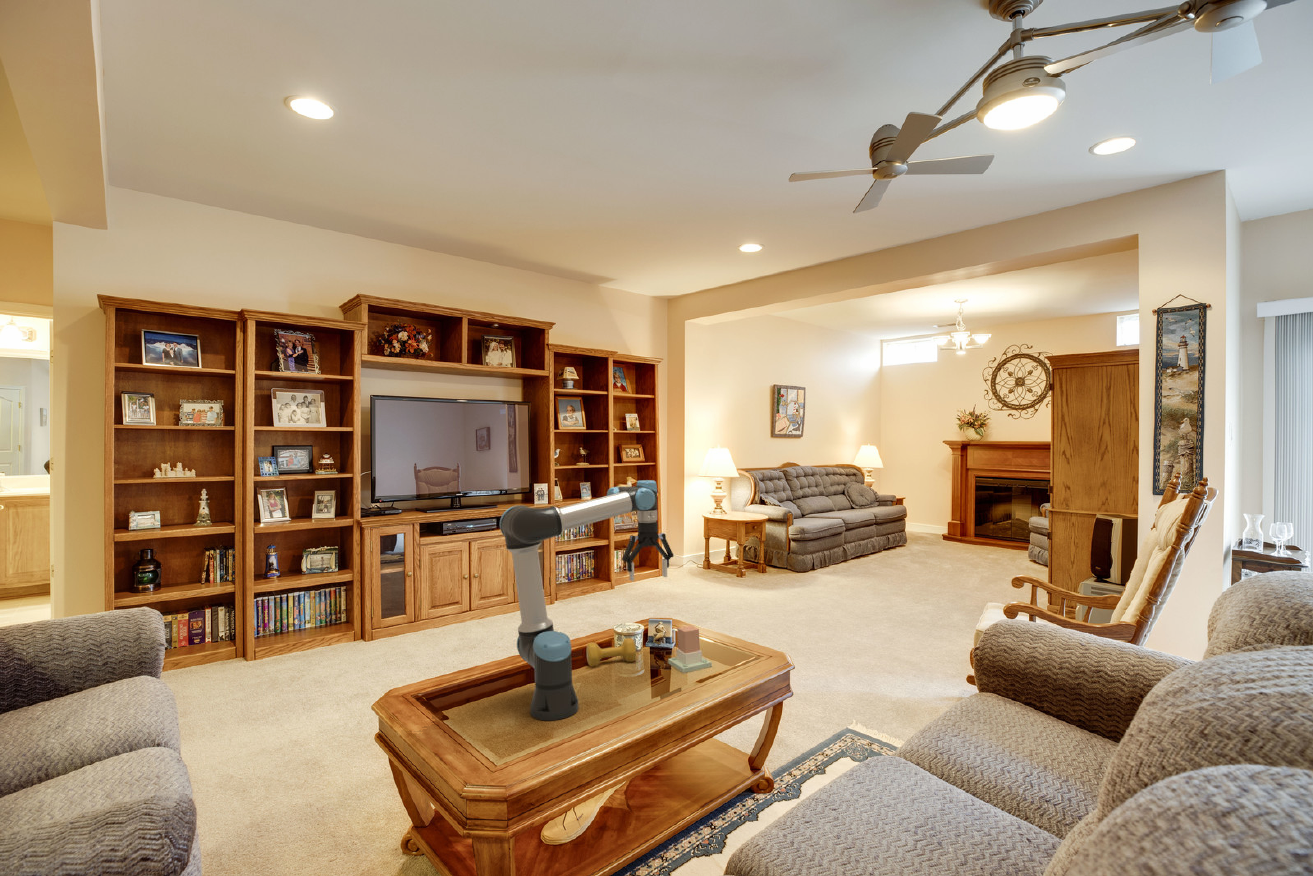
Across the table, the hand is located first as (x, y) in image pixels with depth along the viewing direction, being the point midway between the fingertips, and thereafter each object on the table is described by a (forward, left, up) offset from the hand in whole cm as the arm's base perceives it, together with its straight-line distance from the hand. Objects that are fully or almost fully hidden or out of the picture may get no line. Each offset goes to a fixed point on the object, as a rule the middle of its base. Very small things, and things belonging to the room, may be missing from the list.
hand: (648, 578), depth 226 cm
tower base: (+14, -4, -34) cm, 36 cm away
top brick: (+14, -4, -28) cm, 31 cm away
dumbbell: (-10, +15, -34) cm, 38 cm away
